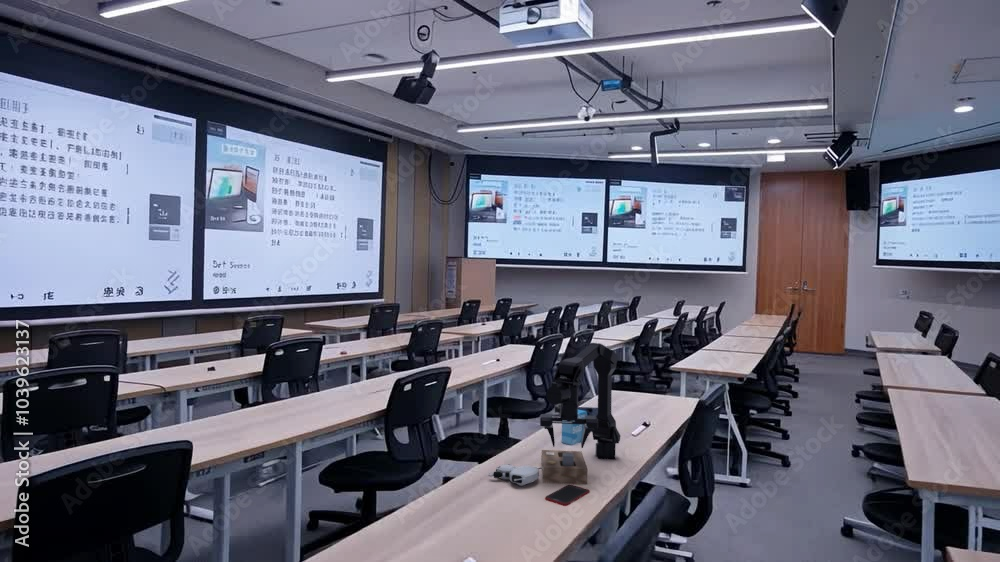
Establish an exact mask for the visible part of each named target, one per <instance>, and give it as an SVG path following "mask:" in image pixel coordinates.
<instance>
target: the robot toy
mask: <svg viewBox="0 0 1000 562" xmlns="http://www.w3.org/2000/svg"><path fill="white" fill-rule="evenodd" d="M542 469H543V467H542V466H541V467H538V466H533V465H527V464H526V465H521V466H518V467H516V466H515V465H511V464H502V465H499V467H496V469H495V471H493V472H488V477H491V478H492V477H493V479H501V480H504V481H505V480H510V482H511V483H513V484H517V485H518V486H519V487H520V486H521V487H522V486H523V487H524V486H526V484H531V483H533V482H536V481H537V479H539V477H540V470H542Z"/></svg>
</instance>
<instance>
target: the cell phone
mask: <svg viewBox="0 0 1000 562" xmlns="http://www.w3.org/2000/svg"><path fill="white" fill-rule="evenodd" d="M588 494H590V490H589V489H588V488H584V487H581V486H578V485H575V484H565V485H564V486H563V487H561V488H559V489H557V490H556V491H554V492H551V493H550V494H548V495H546V496H545V497H544V500H545V501H547V502H550V503H554V504H557V505H559V506H565V507H567V506H569V505H571V504H572V503H574V502H576V501H578V500H579V499H582V498H583V497H585V496H586V495H588Z"/></svg>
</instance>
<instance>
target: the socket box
mask: <svg viewBox="0 0 1000 562" xmlns="http://www.w3.org/2000/svg"><path fill="white" fill-rule="evenodd" d="M563 453H573V455H574V464H573V466H562V457H563ZM540 459H541V467H543V469H541V473H542V483H543V484H544V483H545V484H546V483H547V484H565V485H569V484H570V485H588V466H587V463H586V459H585V457H584V453H583V452H582V451H578V450H556V449H555V450H554V449H552V450H550V449H542V450H541V458H540Z"/></svg>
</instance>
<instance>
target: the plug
mask: <svg viewBox="0 0 1000 562" xmlns="http://www.w3.org/2000/svg"><path fill="white" fill-rule="evenodd" d="M573 464H574V455H573V453H563V457H562V466H573Z"/></svg>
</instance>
